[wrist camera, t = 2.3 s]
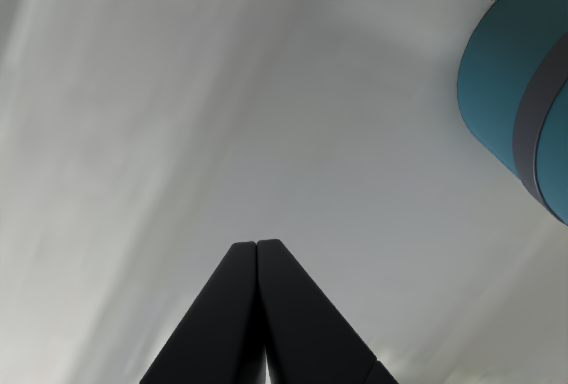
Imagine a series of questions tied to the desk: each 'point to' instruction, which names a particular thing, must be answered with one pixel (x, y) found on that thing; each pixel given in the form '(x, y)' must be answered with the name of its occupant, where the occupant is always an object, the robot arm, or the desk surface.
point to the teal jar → (522, 94)
